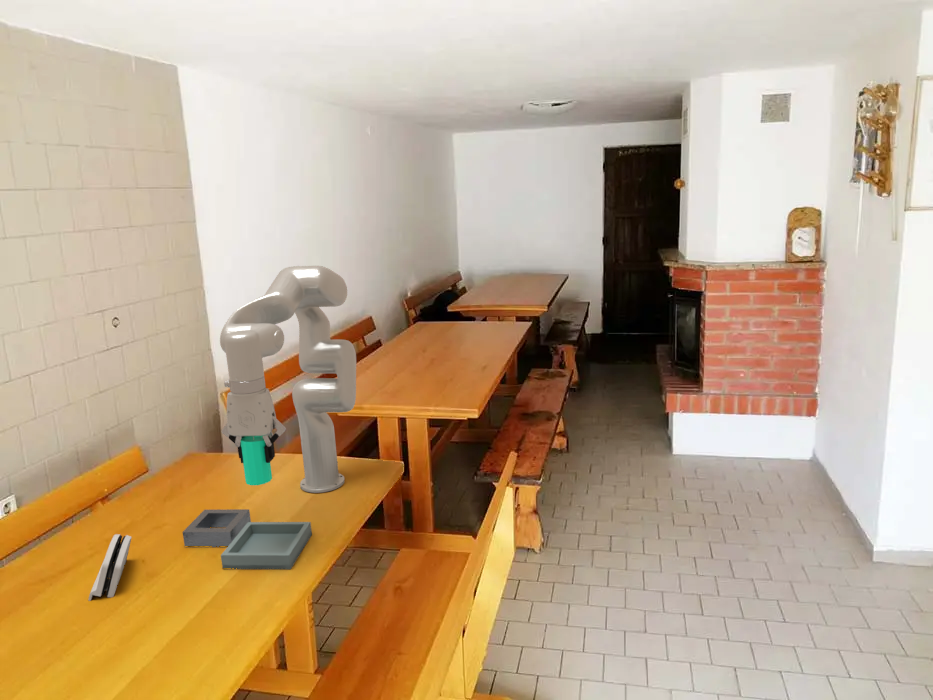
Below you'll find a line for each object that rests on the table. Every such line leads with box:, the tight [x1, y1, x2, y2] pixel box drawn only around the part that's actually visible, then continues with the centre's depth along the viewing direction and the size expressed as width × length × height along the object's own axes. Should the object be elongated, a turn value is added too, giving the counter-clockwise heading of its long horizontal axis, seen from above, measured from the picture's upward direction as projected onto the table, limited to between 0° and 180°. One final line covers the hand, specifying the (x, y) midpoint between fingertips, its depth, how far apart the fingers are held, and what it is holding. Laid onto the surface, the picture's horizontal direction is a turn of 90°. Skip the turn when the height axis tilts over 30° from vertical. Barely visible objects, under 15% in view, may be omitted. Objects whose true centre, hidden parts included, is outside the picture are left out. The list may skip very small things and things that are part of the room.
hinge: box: [87, 533, 132, 602], centre depth 161 cm, size 17×5×10 cm, turn 16°
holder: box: [182, 508, 252, 548], centre depth 179 cm, size 12×12×4 cm
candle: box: [240, 436, 273, 486], centre depth 164 cm, size 6×6×12 cm
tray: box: [220, 521, 313, 570], centre depth 169 cm, size 16×16×4 cm
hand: (257, 459), depth 165 cm, fingers closed on candle, 5 cm apart
